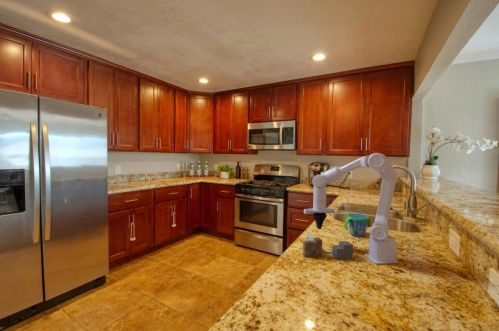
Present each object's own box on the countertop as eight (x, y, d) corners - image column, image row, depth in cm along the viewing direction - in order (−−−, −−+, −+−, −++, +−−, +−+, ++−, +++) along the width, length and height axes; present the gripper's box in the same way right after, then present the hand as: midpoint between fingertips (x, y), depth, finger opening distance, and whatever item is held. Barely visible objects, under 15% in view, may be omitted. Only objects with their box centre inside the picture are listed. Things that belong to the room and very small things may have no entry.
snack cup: (349, 238, 115) (350, 219, 114) (338, 231, 125) (339, 213, 125) (376, 237, 117) (377, 218, 117) (363, 230, 128) (364, 212, 127)
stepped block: (347, 254, 97) (347, 241, 97) (352, 258, 93) (353, 244, 93) (331, 255, 96) (332, 241, 96) (336, 259, 92) (337, 245, 92)
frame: (347, 251, 100) (347, 236, 99) (351, 255, 96) (352, 239, 96) (301, 253, 97) (302, 237, 97) (304, 257, 94) (305, 240, 94)
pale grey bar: (320, 251, 99) (320, 243, 98) (316, 252, 98) (316, 243, 98) (308, 241, 110) (308, 233, 110) (304, 241, 110) (304, 233, 110)
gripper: (330, 198, 110) (329, 225, 111) (301, 198, 108) (301, 226, 109) (337, 201, 103) (336, 230, 104) (307, 201, 101) (306, 231, 102)
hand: (318, 228), depth 106 cm, fingers closed
